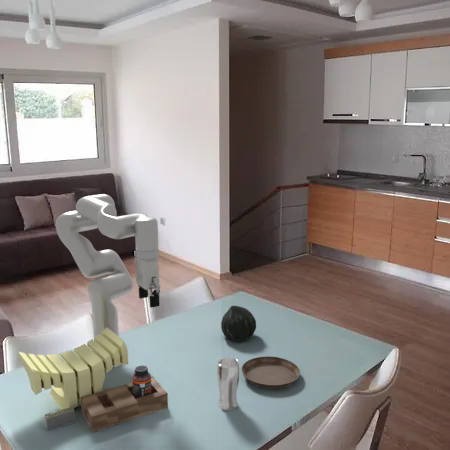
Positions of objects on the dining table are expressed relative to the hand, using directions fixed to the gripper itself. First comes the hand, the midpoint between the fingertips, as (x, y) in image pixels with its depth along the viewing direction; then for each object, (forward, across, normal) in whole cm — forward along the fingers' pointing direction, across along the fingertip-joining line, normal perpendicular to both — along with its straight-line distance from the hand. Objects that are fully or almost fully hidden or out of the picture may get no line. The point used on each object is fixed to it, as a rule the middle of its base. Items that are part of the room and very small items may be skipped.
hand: (149, 302), depth 166 cm
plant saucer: (+29, +22, +36) cm, 51 cm away
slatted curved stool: (+28, -1, -26) cm, 39 cm away
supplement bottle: (+28, +14, -9) cm, 32 cm away
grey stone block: (+28, +11, -34) cm, 46 cm away
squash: (+29, -11, +44) cm, 54 cm away
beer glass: (+28, +29, +14) cm, 43 cm away
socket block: (+28, +14, -15) cm, 35 cm away
